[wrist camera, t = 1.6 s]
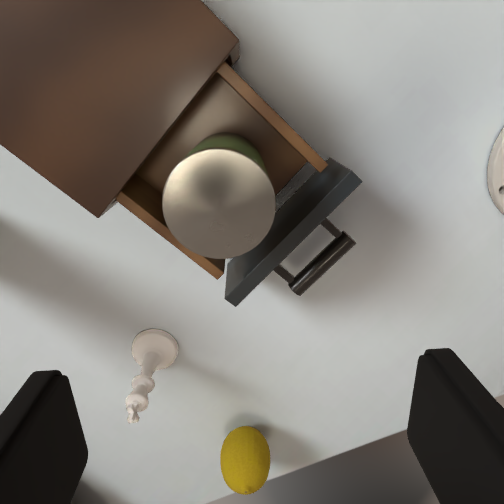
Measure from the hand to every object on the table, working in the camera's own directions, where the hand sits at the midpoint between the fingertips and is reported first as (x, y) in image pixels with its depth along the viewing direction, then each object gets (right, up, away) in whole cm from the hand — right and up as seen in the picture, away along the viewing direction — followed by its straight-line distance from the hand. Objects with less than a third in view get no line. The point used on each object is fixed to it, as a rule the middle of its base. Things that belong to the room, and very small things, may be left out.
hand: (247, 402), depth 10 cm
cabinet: (-11, +19, +20) cm, 30 cm away
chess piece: (-10, -6, +31) cm, 33 cm away
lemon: (-1, -17, +36) cm, 39 cm away
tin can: (-2, +11, +22) cm, 24 cm away
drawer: (0, +10, +23) cm, 25 cm away
